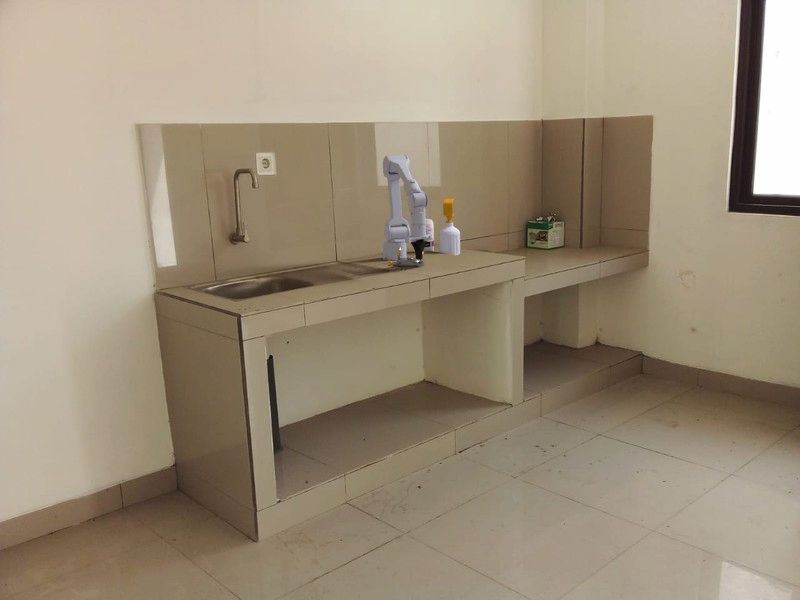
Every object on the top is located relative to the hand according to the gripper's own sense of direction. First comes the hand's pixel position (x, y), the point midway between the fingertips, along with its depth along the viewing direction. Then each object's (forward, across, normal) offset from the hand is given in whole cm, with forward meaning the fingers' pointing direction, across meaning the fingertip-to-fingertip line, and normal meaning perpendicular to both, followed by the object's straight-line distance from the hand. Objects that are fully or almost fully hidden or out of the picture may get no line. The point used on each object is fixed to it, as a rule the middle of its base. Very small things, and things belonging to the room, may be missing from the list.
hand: (419, 259), depth 264 cm
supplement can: (+4, +37, +25) cm, 45 cm away
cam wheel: (+3, 0, +8) cm, 8 cm away
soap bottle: (+5, +37, +12) cm, 39 cm away
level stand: (+5, +1, +6) cm, 8 cm away
